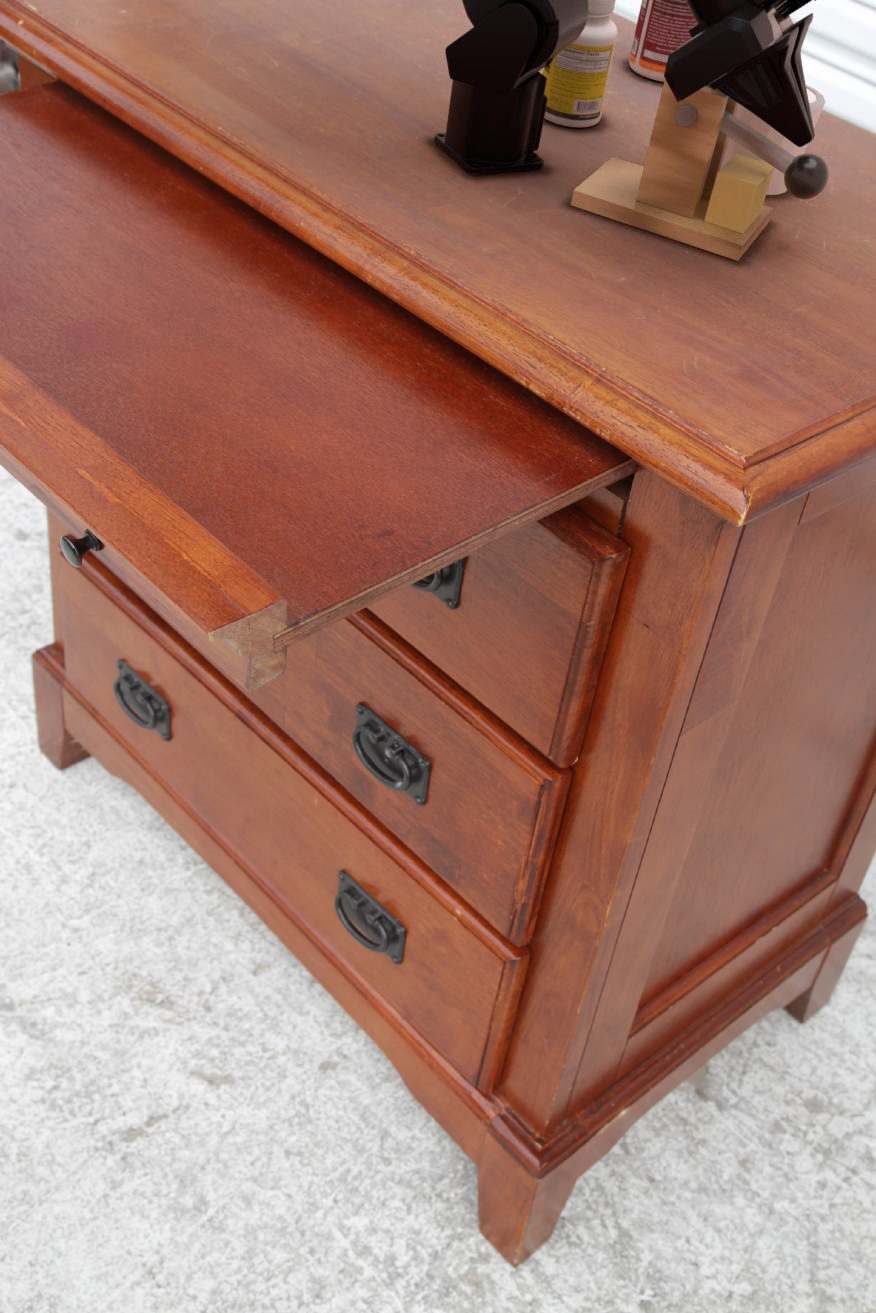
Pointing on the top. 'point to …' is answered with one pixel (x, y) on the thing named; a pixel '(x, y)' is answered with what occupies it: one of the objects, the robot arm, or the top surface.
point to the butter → (739, 193)
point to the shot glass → (772, 138)
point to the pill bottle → (659, 35)
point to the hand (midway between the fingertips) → (807, 143)
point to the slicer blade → (780, 158)
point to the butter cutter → (673, 177)
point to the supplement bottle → (583, 71)
